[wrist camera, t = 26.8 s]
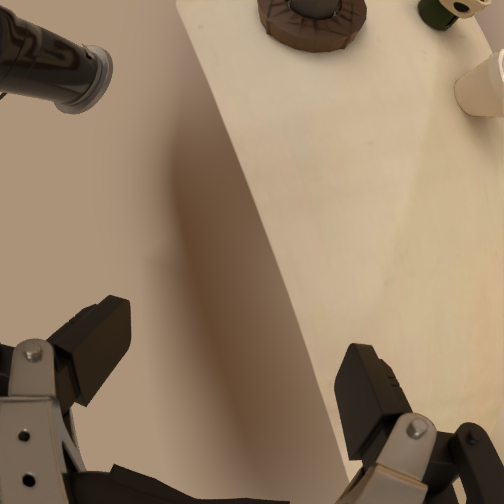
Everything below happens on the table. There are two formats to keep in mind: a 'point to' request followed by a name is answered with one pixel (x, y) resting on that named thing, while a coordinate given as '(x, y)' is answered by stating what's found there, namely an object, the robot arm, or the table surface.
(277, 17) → the stand
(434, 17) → the character mug
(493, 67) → the foam cup
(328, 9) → the bottle
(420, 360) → the table surface
